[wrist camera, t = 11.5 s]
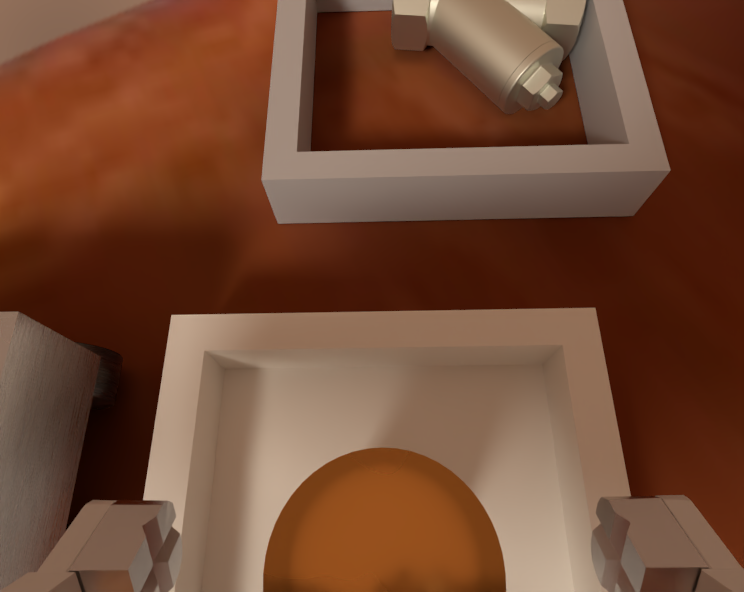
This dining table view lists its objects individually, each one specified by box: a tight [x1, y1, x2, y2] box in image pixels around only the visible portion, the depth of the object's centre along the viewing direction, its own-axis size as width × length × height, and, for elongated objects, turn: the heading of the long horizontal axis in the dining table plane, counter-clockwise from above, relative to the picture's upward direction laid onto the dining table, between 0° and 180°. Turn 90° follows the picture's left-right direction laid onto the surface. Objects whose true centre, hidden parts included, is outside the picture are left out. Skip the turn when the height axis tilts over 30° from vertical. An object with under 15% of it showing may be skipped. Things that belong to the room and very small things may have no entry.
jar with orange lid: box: [263, 447, 506, 592], centre depth 12 cm, size 4×4×9 cm
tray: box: [143, 308, 631, 592], centre depth 15 cm, size 13×13×3 cm
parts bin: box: [262, 0, 671, 224], centre depth 22 cm, size 14×13×3 cm
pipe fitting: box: [391, 0, 586, 114], centre depth 23 cm, size 8×4×7 cm
